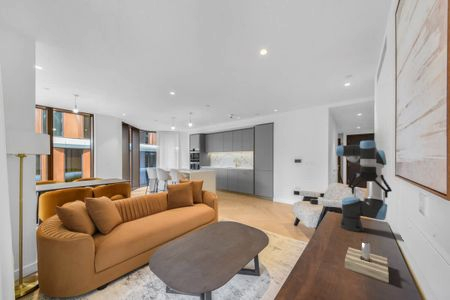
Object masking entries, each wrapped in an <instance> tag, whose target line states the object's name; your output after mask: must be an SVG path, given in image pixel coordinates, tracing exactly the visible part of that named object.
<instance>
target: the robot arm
mask: <svg viewBox="0 0 450 300" xmlns="http://www.w3.org/2000/svg"><path fill="white" fill-rule="evenodd" d="M335 155H336V156H337V157H345V158H346V160H347V161H349V162H351V163H353V164H358V165H360V167H359V168H360V173H357V172H354V174H353V178H352V179H351V181H350V183H349V184H348V186H347V187H348V188H350V189H351V194H352V195H353V196H351V197H349V196H348V197H344V198H342V199H341V208H342V209H341V210H342V211H341V213H342V215H341V219H340V222H339V227H340V228H342V229H344V230H345V231H346V230H347V231H351V232H357V233H359V232H364V228H365V227H364V224H363V222H362V218H361V217H364V218H367V219H374V220H378V221H379V220H380V221H384V220H385V219H386V217H387V212H388V204H387V203H386V199H388V198H389V197H388V194H389V193H390V192H392V188H391V187H390V185H389V184H388V182H387V180H386V179H385V176H384V174H383V173H382V169H383V168H385V166H387V159H386V158H387V157H386V154H385V151H384V150H383V149H377V144H376V141H375V140H361V141H360V143H359V144H351V145H343V144H342V145H337V146H336V148H335ZM359 177H360V179H358V181H357V182H356V183H354V182H355V180H357V178H359ZM363 181H364V182H366V197H364V198H363V200H362V199H360V197H357V191H356V187H357V186H359V184H360V183H362V182H363ZM353 184H354V185H353ZM382 184H384V186H385V187H386V188H387V189H386V188H385V187H384V186H383V185H382Z"/></svg>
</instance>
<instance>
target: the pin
mask: <svg viewBox="0 0 450 300" xmlns="http://www.w3.org/2000/svg"><path fill="white" fill-rule="evenodd" d="M361 251H362V260H364V261H367V262H370V254H371V244H370V243H368V242H366V241H362V242H361Z"/></svg>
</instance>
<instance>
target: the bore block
mask: <svg viewBox="0 0 450 300" xmlns="http://www.w3.org/2000/svg"><path fill="white" fill-rule="evenodd" d="M347 248H348V249H347V251H346V255H345V259H344V269H347V270H350V271H351V272H352V271H353V272H354V273H358V274H360V275H363V276H366V277H369V278H372V279H375V280H377V281H381V282H383V283H386V284H389V282H390V281H389V265H388V258H387V257H384V256H381V255H377V254H374V253H370V262H367V261H364V260H362V250H359V249H355V248H353V247H347Z"/></svg>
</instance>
